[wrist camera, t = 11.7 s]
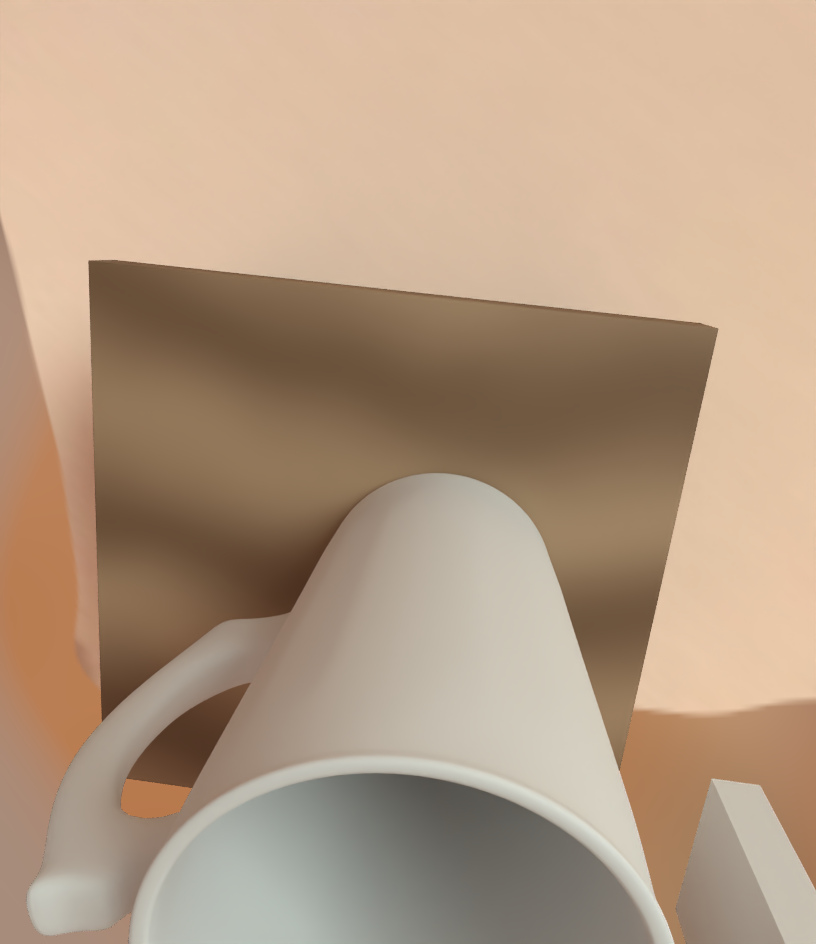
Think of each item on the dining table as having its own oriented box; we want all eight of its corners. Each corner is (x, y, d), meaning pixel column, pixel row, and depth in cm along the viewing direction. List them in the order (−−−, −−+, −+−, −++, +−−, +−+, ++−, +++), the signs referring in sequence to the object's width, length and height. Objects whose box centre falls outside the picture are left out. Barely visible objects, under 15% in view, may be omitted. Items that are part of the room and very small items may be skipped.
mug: (555, 452, 19) (684, 749, 8) (565, 676, 21) (680, 1187, 9) (189, 479, 20) (-184, 775, 9) (229, 690, 22) (-33, 1162, 11)
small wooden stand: (222, 258, 29) (88, 260, 19) (629, 302, 28) (718, 328, 18) (213, 618, 33) (103, 775, 23) (561, 664, 33) (602, 847, 23)
